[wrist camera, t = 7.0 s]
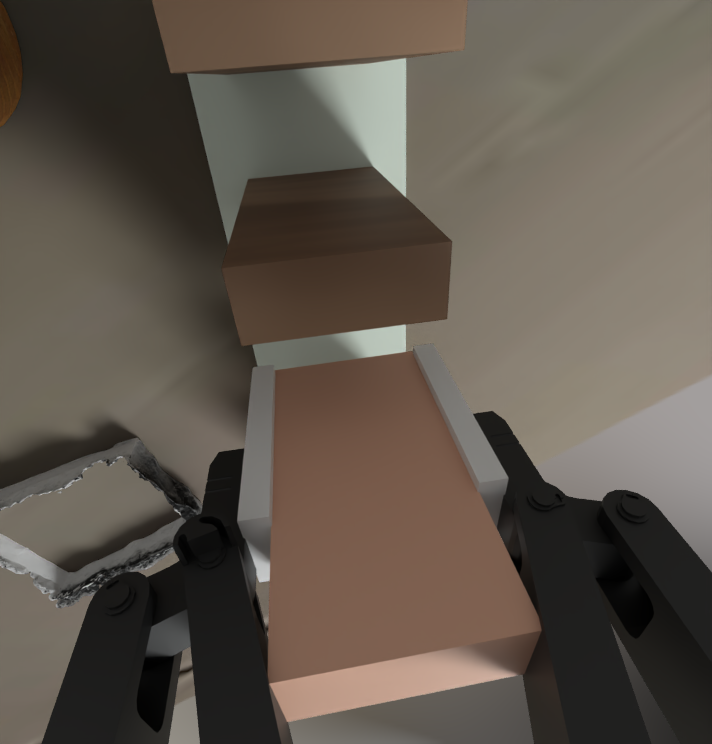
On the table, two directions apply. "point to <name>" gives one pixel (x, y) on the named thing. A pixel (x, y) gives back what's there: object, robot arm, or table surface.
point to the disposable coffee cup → (9, 67)
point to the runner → (305, 158)
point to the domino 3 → (381, 547)
